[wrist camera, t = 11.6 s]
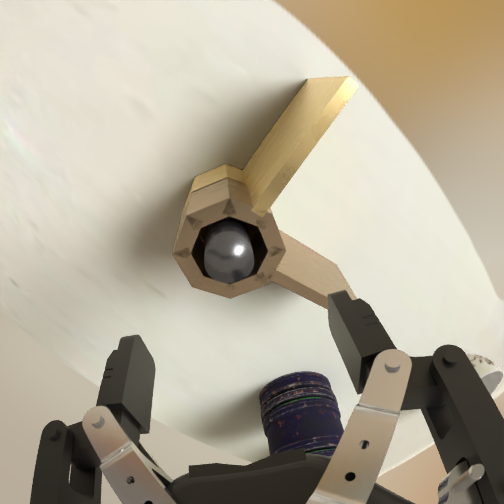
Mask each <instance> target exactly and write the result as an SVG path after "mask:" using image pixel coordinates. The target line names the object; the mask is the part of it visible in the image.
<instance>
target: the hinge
mask: <svg viewBox="0 0 504 504" xmlns="http://www.w3.org/2000/svg"><path fill="white" fill-rule="evenodd" d="M358 87H359V85H358V84H357V83H356V82H355V81H354V80H352V79H351V78H350V77H349V76H342V77H324V78H311V79H307V81H306V82H305V83H304V85H303V86H302V87H301V89H300V90H299V91H298V93H297V94H296V96H295V97H294V98H293V100H292V101H291V102H290V104H289V105H288V106H287V108H286V109H285V111H284V112H283V113H282V115H281V116H280V117H279V119H278V120H277V122H276V123H275V124H274V126H273V127H272V129H271V130H270V131H269V133H268V134H267V136H266V137H265V139H264V140H263V141H262V143H261V144H260V146H259V147H258V149H257V150H256V151H255V153H254V154H253V156H252V157H251V159H250V160H249V162H248V163H247V164H246V166H245V167H244V169H243V170H240V169H238V168H235V167H233V166H230V165H227V164H224V165H221V166H219V167H217V168H214V169H212V170H210V171H207V172H205V173H203V174H200V175H198V176H196V177H195V179H194V181H193V184H192V186H191V189H190V191H189V194H188V197H187V199H186V202H185V205H184V208H183V212H182V216H181V220H180V224H179V228H178V232H177V236H176V240H175V244H174V249H173V253H172V254H173V256H174V258H175V259H176V261H177V263H178V264H179V266H180V268H181V269H182V271H183V273H184V275H185V276H186V278H187V280H188V281H189V283H190V285H191V286H192V287H194V288H197V289H200V290H204V291H207V292H210V293H213V294H217V295H220V296H224V297H227V298H230V299H231V298H233V297H236V296H238V295H241V294H244V293H246V292H249V291H252V290H255V289H257V288H260V287H263V286H265V285H268V284H269V282H270V280H271V281H273V282H275V283H277V284H278V285H280V286H282V287H284V288H286V289H288V290H290V291H292V292H294V293H296V294H298V295H300V296H302V297H304V298H306V299H308V300H310V301H312V302H314V303H316V304H318V305H320V306H322V307H324V308H326V309H328V301H327V295H328V294H330V293H334V292H338V291H341V290H346V291H347V293H348V294H349V296H350V298H351V299H352V300H356V299H357V298H356V296H355V295H354V293H353V291H352V290H351V288H350V286H349V284H348V283H347V281H346V279H345V278H344V276H343V275H342V273H341V271H340V270H339V268H338V266H337V265H336V264H335V263H333V262H331V261H330V260H328V259H326V258H325V257H323V256H322V255H320V254H318V253H317V252H315V251H313V250H312V249H310V248H308V247H307V246H305V245H303V244H302V243H300V242H298V241H297V240H295V239H293V238H292V237H290V236H288V235H287V234H285V233H283V232H282V231H280V230H278V227H277V225H276V222H275V220H274V217H273V214H272V211H271V209H270V207H271V205H272V204H273V203H274V201H275V200H276V199H277V197H278V196H279V194H280V193H281V192H282V190H283V189H284V188H285V186H286V185H287V183H288V182H289V181H290V179H291V178H292V177H293V175H294V174H295V172H296V171H297V170H298V168H299V167H300V166H301V164H302V163H303V161H304V160H305V159H306V157H307V156H308V155H309V153H310V152H311V151H312V149H313V148H314V146H315V145H316V144H317V142H318V141H319V140H320V138H321V137H322V136H323V134H324V133H325V132H326V130H327V129H328V127H329V126H330V125H331V123H332V122H333V121H334V119H335V118H336V117H337V115H338V114H339V113H340V111H341V110H342V109H343V107H344V106H345V104H346V103H347V102H348V100H349V99H350V98H351V96H352V95H353V94H354V92H355V91H356V90H357V88H358ZM229 216H230V217H233V218H236V219H239V220H242V221H244V222H246V223H247V227H248V232H249V237H250V241H251V246H252V251H253V255H254V267H253V269H252V271H251V273H250V274H249V275H248V276H247V277H246V278H245V279H243V280H241V281H239V282H235V283H222V282H219V281H216V280H215V279H213V278H212V277H211V276H210V275H209V274H208V273H207V271H206V269H205V266H204V255H205V238H206V226H207V225H209V224H211V223H214V222H216V221H219V220H221V219H224V218H226V217H229Z"/></svg>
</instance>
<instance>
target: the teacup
mask: <svg viewBox="0 0 504 504" xmlns="http://www.w3.org/2000/svg"><path fill="white" fill-rule="evenodd" d="M467 357H468V358H469V360H470V362H471V363H472V365H473V366H474V368H475V370H476V371H477V373H478V375H479V376H480V378H481V380H482V381H483V383H484V385H485V386H486V388H487V390H488V392H489V393H490V395H491V394H492V392H493V391H494V390H495V389H496V387H497V385H498V384H499V383H500V381H501V379H502V377H503V371H502V370H501V369H500V368H499V367H498V366H497V365H496V364H494V363H493V362H492V361H490V360H489V359H487V358H485V357H482V356H479V355H471V354H468V355H467Z"/></svg>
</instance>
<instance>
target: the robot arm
mask: <svg viewBox="0 0 504 504" xmlns="http://www.w3.org/2000/svg"><path fill="white" fill-rule="evenodd" d="M327 301H328V319H329V327H330V331H331V334H332V336H333V338H334V341H335V343H336V345H337V348H338V350H339V352H340V354H341V357H342V359H343V361H344V364H345V366H346V368H347V371H348V373H349V375H350V378H351V380H352V382H353V385H354V387H355V390H356V392H357V394H361V393H362V396H361V398H360V401H359V403H358V405H356V406H355V408H354V410H353V412H352V414H351V417H350V419H349V421H348V424H347V426H346V428H345V430H344V433H343V435H342V437H341V439H340V442H339V444H338V446H337V448H336V450H335V452H334V454H333V456H332V458H331V457H328V456H324V455H319V454H305V451H304V447H303V448H299V449H295V450H290V451H286V452H281V453H276V454H273V455H271V456H269V457H266V458H264V459H262V460H259V461H257V462H254V463H252V464H249V465H246V466H241V465H229V464H219V463H213V464H203V465H192V466H189V473H187V474H185V475H182V476H180V477H179V478H177V479H175V480H174V481H173V480H172V479H171V478H170V477H169V476H168V475H167V474H166V473H165V472H164V471H163V469H162V468H161V467H160V466H159V465H158V463H157V462H156V461H155V460H154V458H153V457H152V456H151V455H150V453H149V452H148V451H147V449H146V448H145V447H144V446H143V444H142V443H141V442H140V441H139V439H140V434H147V433H149V430H150V418H151V407H152V397H153V387H154V378H155V363H154V360H153V358H152V356H151V354H150V353H149V351H148V349H147V347H146V346H145V344H144V342H143V340H142V339H141V337H140V336H139V335H132V336H126V337H122V338H121V339H120V343H119V346H118V350H113V352H112V353H111V355H110V356H109V358H108V359H107V363H106V366H105V371H104V374H103V379H102V382H101V386H100V391H99V395H98V399H97V404H96V407H93V408H91V409H90V410H89V411H88V412H87V413H86V414H85V416H84V418H83V421H81V422H79V423H76V424H73V425H70V426H66V425H65V424H64V423H63V422H62V421H59V420H55V421H51V422H50V423H48V424H47V425H46V426H45V428H44V429H43V431H42V435H41V440H40V445H39V449H38V454H37V460H36V465H35V471H34V478H33V485H32V492H31V499H30V504H101V481H102V472H103V474H104V476H105V477H106V479H107V481H108V482H109V484H110V486H111V487H112V488H113V490H114V492H115V493H116V495H117V496H118V498H119V499H120V501H121V502H122V504H415V503H413V502H411V501H409V500H406V499H404V498H403V497H401V496H399V495H397V494H395V493H393V492H391V491H390V490H388V489H386V488H384V487H382V486H381V485H379V484H377V483H375V481H376V479H377V477H378V474H379V472H380V469H381V466H382V464H383V461H384V459H385V456H386V453H387V450H388V448H389V445H390V442H391V439H392V436H393V433H394V430H395V427H396V424H397V421H398V417H399V412H400V410H411V409H421V411H422V413H423V415H424V418H425V420H426V422H427V425H428V427H429V429H430V432H431V434H432V437H433V439H434V442H435V444H436V446H437V449H438V451H439V454H440V456H441V459H442V462H443V464H444V467H445V470H446V472H447V475H446V477H444V478H443V479H442V481H441V483H440V484H439V487H438V496H439V503H438V504H504V419H503V417H502V415H501V413H500V412H499V410H498V408H497V406H496V404H495V402H494V400H493V399H492V397H491V395H490V393H489V392H488V390H487V388H486V386H485V385H484V383H483V381H482V380H481V378H480V376H479V375H478V373H477V371H476V370H475V368H474V366H473V365H472V363H471V362H470V360H469V358H468V357H467V355H466V354H465V352H464V351H463V350H462V349H461V348H459V347H457V346H454V345H443V346H441V347H439V348H438V349H437V350H436V351H435V352H434V354H433V356H425V357H410V356H408V355H407V354H406V353H405V352H403V351H401V350H397V348H396V347H395V346H394V344H393V342H392V341H391V339H390V337H389V336H388V334H387V332H386V331H385V329H384V327H383V326H382V324H381V322H379V319H378V318H377V316H376V315H375V313H374V311H373V310H372V308H371V306H370V305H369V304H368V303H366V302H365V301H363V300H362V299H360V298H359V299H356V300H352V299H351V298H350V296H349V294H348V293H347V291H346V290H341V291H338V292H334V293H330V294H328V295H327ZM70 464H71V474H70V483H69V471H70Z"/></svg>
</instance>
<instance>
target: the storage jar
mask: <svg viewBox="0 0 504 504" xmlns="http://www.w3.org/2000/svg"><path fill="white" fill-rule="evenodd" d="M259 399H260V405H261V418H262V424H263V428H264V432H265V435H266V437H267V438H268V444H269V451H270V456H271V455H273V454H276V453H281V452H286V451H290V450H295V449H299V448H303V447H304V451H305V454H319V455H324V456H328V457H331V458H332V456H333V454H334V452H335V450H336V448H337V446H338V444H339V442H340V439H341V437H342V435H343V433H344V430H343V427H342V424H341V421H340V417H341V415H340V411H339V408H338V403H337V400H336V397H335V395H334V394H333V391H332V389H331V385H330V382H329V380H328V379H327V378H326V377H325V376H324V375H322V374H320V373H316V372H296V373H291V374H287V375H284V376H281V377H279V378H277V379H275V380H273V381H272V382H270V383H269V384H267V385H266V386H265V387H264V388H263V390H262V391H261V393H260V397H259Z"/></svg>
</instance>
